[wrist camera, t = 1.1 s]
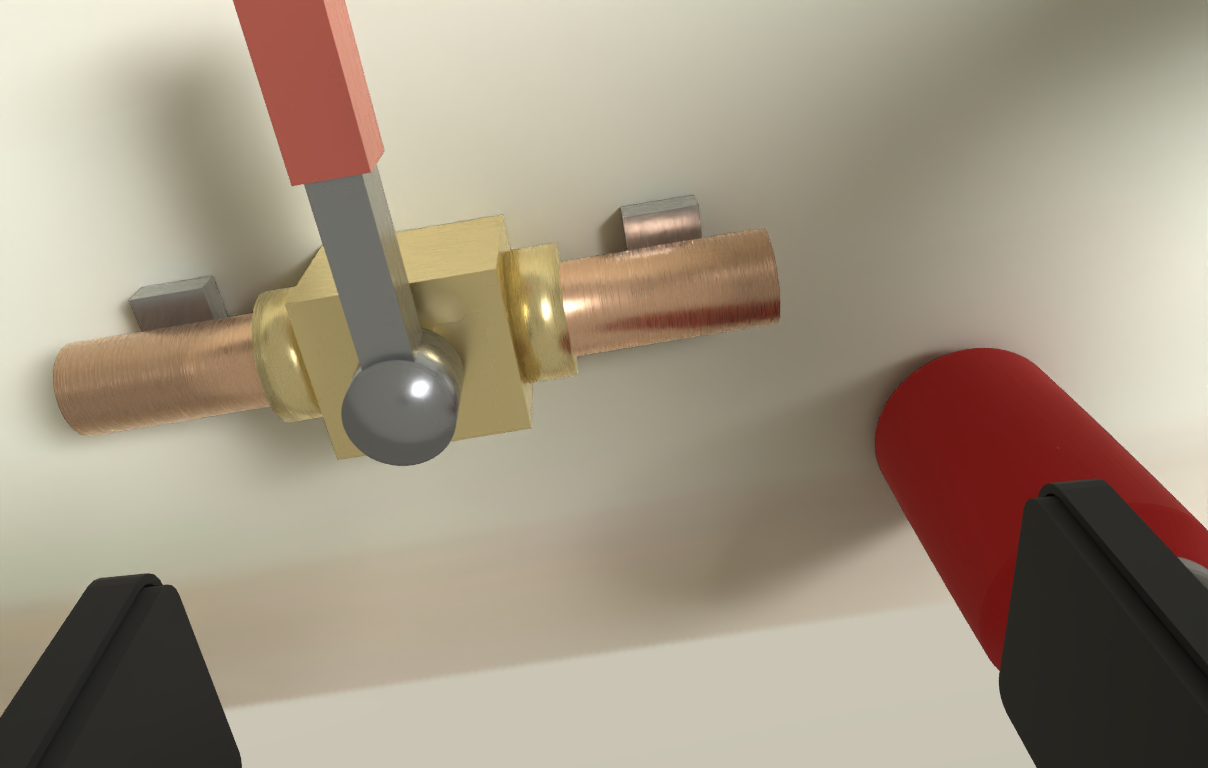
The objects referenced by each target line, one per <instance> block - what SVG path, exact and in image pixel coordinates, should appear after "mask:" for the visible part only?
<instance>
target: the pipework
mask: <svg viewBox="0 0 1208 768" xmlns="http://www.w3.org/2000/svg"><path fill="white" fill-rule="evenodd" d="M621 214H622V220H623V227H624V233H625V240H626V247H627V251H621V252H615V253H609V254H603V255H597V256H591V257H585V258H579V259H573V260H567V261H561V259H560V255H559V251H558V247H557V244H556V243H551V244H545V245H539V246H533V247H527V248H521V249H515V250H511V249H510V244H509V240H508V235H507V230H506V225H505V221H504V216H503V215H498V216H492V217H486V218H480V219H474V220H468V221H462V222H456V223H450V224H444V225H438V226H433V227H427V228H421V229H415V230H409V231H403V232H397V233H395V234H396V237H397V241H398V245H399V248H400V252H401V256H402V259H403V263H404V267H405V270H406V274H407V278H408V282H409V285H410V289H411V293H412V296H413V300H414V304H415V307H416V311H417V315H418V318H419V322H420V326H421V327H422V328H426V329H429V330H431V331H434V332H436V333H437V334H439V335H441V336H442V337H444V338H445V339H446V340H447V341H448V342H450V343H451V345H452V346H453V347H454V348H455V350H456V351H457V353H458V354H459V356H460V358H461V361H462V364H463V369H464V381H463V388H462V394H461V399H460V405H459V411H458V417H457V423H456V428H455V432H454V435H453V437H452V439H451V441H456V440H462V439H468V438H474V437H480V436H486V435H492V434H499V433H505V432H511V431H517V430H523V429H529V428H531V421H532V387H533V383H535V382H541V381H547V380H553V379H559V378H565V377H571V376H577V375H578V361H577V356H581V355H587V354H593V353H600V352H606V351H612V350H618V349H624V348H630V347H636V346H642V345H648V344H654V343H660V342H666V341H673V340H679V339H685V338H691V337H697V336H703V335H709V334H715V333H721V332H727V331H733V330H739V329H746V328H752V327H758V326H764V325H770V324H776V323H778V321H779V317H780V292H779V282H778V275H777V268H776V263H775V258H774V254H773V249H772V246H771V242H770V239H769V236H768V234H767V232H766V230H765V229H764V228H759V229H753V230H747V231H741V232H735V233H729V234H723V235H717V236H711V237H705V238H702V235H701V226H700V217H699V208H698V203H697V201H696V199H695V197H694V195H689V196H683V197H677V198H671V199H665V200H659V201H653V202H647V203H641V204H635V205H629V206H623V207H621ZM129 302H130V305H131V307H132V309H133V312H134V314H135V316H136V319H137V321H138V323H139V326H140V328H141V331H142V332H136V333H130V334H124V335H118V336H112V337H106V338H100V339H94V340H88V341H82V342H76V343H71V344H68V345H66V346H65V347H63V348H62V349H61V351H60V352H59V354H58V356H57V358H56V361H55V365H54V373H53V383H54V391H55V396H56V400H57V403H58V406H59V408H60V411H61V413H62V415H63V416H64V418H65V420H66V421H67V423H68V424H69V425H70V426H71V427H72V428H73V429H74V430H75V431H76V432H78V433H79V434H81V435H84V436H95V435H101V434H107V433H113V432H119V431H125V430H131V429H137V428H143V427H149V426H155V425H162V424H168V423H174V422H180V421H186V420H192V419H198V418H204V417H210V416H216V415H222V414H228V413H235V412H241V411H247V410H253V409H259V408H265V407H272V409H273V410H274V412H275V413H276V414H277V415H278V416H279V418H281V419H282V420H283V421H285V422H289V423H290V422H297V421H303V420H309V419H315V418H321V417H323V419H324V422H325V424H326V427H327V430H328V433H329V436H330V439H331V442H332V445H333V448H334V451H335V454H336V457H337V460H339V459H345V458H351V457H357V456H363V455H365V454H364V453H363V452H361V451H360V450H359V449H358V448H357V447H356V446H355V445H354V444H353V443H352V442H351V440H350V439H349V437H348V436H347V434H346V432H345V429H344V427H343V423H342V417H341V409H342V403H343V400H344V397H345V394H346V392H347V389H348V387H349V384H350V382H351V379H352V377H353V375H354V372H355V370H356V367H357V365H358V362H359V359H358V356H357V353H356V350H355V347H354V343H353V340H352V337H351V334H350V330H349V327H348V324H347V321H346V318H345V314H344V311H343V308H342V305H341V301H340V298H339V295H338V292H337V289H336V285H335V282H334V279H333V276H332V272H331V269H330V266H329V263H328V260H327V256H326V253H325V250H324V247H323V245H322V246H321V248H320V249H319V251H318V253H317V254H316V256H315V257H314V259H313V260H312V262H311V263H310V265H309V267H308V268H307V270H306V271H305V273H304V274H303V276H302V278H301V279H300V281H299V282H298V284H297V285H296V286H294V287H288V288H283V289H277V290H271V291H265V292H262V293H261V294H260V295H259V296H258V298H257V300H256V302H255V305H254V309H253V313H250V314H244V315H238V316H232V317H228V315H227V312H226V310H225V307H224V304H223V302H222V299H221V296H220V294H219V291H218V288H217V286H216V283H215V280H214V277H213V276H207V277H201V278H195V279H189V280H183V281H177V282H171V283H165V284H160V285H154V286H148V287H142V288H141V289H140V290H139V291H138V292H137V293H136V294H135V295H133V296H132V297H131V298H130V299H129Z"/></svg>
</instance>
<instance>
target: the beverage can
mask: <svg viewBox="0 0 1208 768" xmlns="http://www.w3.org/2000/svg"><path fill="white" fill-rule="evenodd" d="M875 452H876V458H877V462H878V465H879V467H880V470H881V472H882V474H883V475H884V477H885V479H886V481H887V483H888V484H889V486H890V488H891V490H892V492H893V494H894V495H895V497H896V499H897V501H898V503H899V504H900V506H901V508H902V510H903V512H904V514H905V515H906V517H907V519H908V521H909V522H910V524H911V526H912V528H913V529H914V531H915V533H916V535H917V536H918V538H919V540H920V542H921V543H922V545H923V547H924V549H925V550H926V552H927V554H928V556H929V557H930V559H931V561H932V563H933V564H934V566H935V568H936V570H937V571H938V573H939V575H940V576H941V578H942V580H943V582H944V583H945V585H946V587H947V589H948V590H949V592H950V594H951V595H952V597H953V599H954V600H955V602H956V604H957V606H958V607H959V609H960V611H961V612H962V614H963V616H964V617H965V619H966V621H967V622H968V624H969V626H970V627H971V629H972V631H973V632H974V634H975V636H976V637H977V639H978V641H979V642H980V644H981V646H982V647H983V649H984V651H985V653H986V654H987V656H988V658H989V659H990V661H991V662H992V663H993V664H994V666H996V667H997V669H998V670H999V671H1000V666H1001V659H1002V652H1003V646H1004V639H1005V632H1006V625H1007V618H1008V611H1009V604H1010V598H1011V591H1012V584H1013V577H1014V570H1015V563H1016V556H1017V550H1018V543H1019V536H1020V529H1021V522H1022V515H1023V509H1024V506H1025V503H1026V502H1027V500H1029V499H1031V498H1038V495H1039V491H1040V490H1041V488H1042V487H1043V485H1045V484H1048V483H1055V482H1065V481H1075V480H1085V479H1095V478H1097V479H1102V480H1104V481H1105V482H1107V483H1108V484H1109V485H1110V486H1111V487H1112V488H1113V489H1114V490H1115V491H1116V492H1117V493H1118V494H1119V495H1120V496H1121V497H1122V499H1123V500H1124V501H1125V502H1126V503H1127V504H1128V505H1129V506H1130V507H1131V508H1132V509H1133V510H1134V511H1135V512H1136V514H1137V515H1138V516H1139V517H1140V518H1141V519H1142V520H1143V521H1144V522H1145V523H1146V524H1147V525H1148V526H1149V527H1150V528H1151V530H1152V531H1153V532H1154V533H1155V534H1156V535H1157V536H1158V537H1159V538H1160V539H1161V540H1162V541H1163V542H1164V543H1165V545H1166V546H1167V547H1168V548H1169V549H1170V550H1171V551H1172V552H1173V553H1174V554H1175V555H1176V556H1177V557H1178V558H1179V559H1180V561H1181V562H1182V563H1183V564H1184V565H1185V566H1186V567H1187V568H1188V569H1189V570H1190V571H1191V572H1192V573H1193V574H1194V576H1195V577H1196V578H1197V579H1198V580H1199V581H1200V582H1201V583H1202V584H1203V585H1204V586H1205V587H1206V588H1207V589H1208V530H1207V529H1206V528H1205V527H1204V526H1203V525H1202V524H1201V523H1200V522H1199V521H1198V520H1197V519H1196V518H1195V517H1194V516H1193V515H1192V514H1191V513H1190V512H1189V511H1188V510H1187V509H1186V508H1185V507H1184V506H1183V505H1182V504H1181V503H1180V502H1179V501H1178V500H1177V499H1176V498H1175V497H1174V496H1173V495H1172V494H1171V493H1170V492H1169V491H1168V490H1167V489H1166V488H1165V487H1164V486H1163V485H1162V484H1161V483H1160V482H1159V481H1158V480H1157V479H1156V478H1155V477H1154V476H1153V475H1152V474H1150V473H1149V472H1148V471H1147V470H1146V469H1145V468H1144V467H1143V466H1142V465H1141V464H1140V463H1139V462H1138V461H1137V460H1136V459H1135V458H1134V457H1133V456H1132V455H1131V454H1130V453H1129V452H1128V451H1127V450H1126V449H1125V448H1124V447H1123V446H1121V445H1120V444H1119V443H1118V442H1117V441H1116V440H1115V439H1114V438H1113V437H1112V436H1111V435H1110V434H1109V433H1108V432H1107V431H1106V430H1105V429H1104V428H1103V427H1102V426H1101V425H1100V424H1099V423H1098V422H1096V421H1095V420H1094V419H1093V418H1092V417H1091V416H1090V415H1089V414H1088V413H1087V412H1086V411H1085V410H1084V409H1083V408H1082V407H1081V406H1080V405H1078V404H1077V403H1076V402H1075V401H1074V400H1073V399H1072V398H1071V397H1070V396H1069V395H1068V394H1067V393H1066V392H1065V391H1064V390H1062V389H1061V388H1060V387H1059V386H1058V385H1057V384H1056V383H1055V382H1054V381H1053V380H1052V379H1050V378H1049V377H1048V376H1047V375H1046V374H1045V373H1044V372H1043V371H1042V370H1041V369H1040V368H1039V367H1037V366H1036V365H1035V364H1034V363H1032V362H1031V361H1029V360H1028V359H1026V358H1024V357H1022V356H1020V355H1018V354H1015V353H1012V352H1009V351H1006V350H1001V349H993V348H974V349H966V350H962V351H957V352H954V353H950V354H947V355H945V356H942V357H940V358H937V359H935V360H933V361H931V362H929V363H928V364H926V365H924V366H923V367H921V368H920V369H918V370H917V371H915V372H914V373H913V374H911V375H910V376H909V377H908V378H907V379H906V380H905V381H904V382H903V383H902V384H901V385H900V386H899V387H898V388H897V389H896V390H895V391H894V393H893V394H892V396H891V397H890V398H889V400H888V402H887V403H886V405H885V407H884V409H883V411H882V413H881V415H880V418H879V421H878V424H877V428H876V434H875Z"/></svg>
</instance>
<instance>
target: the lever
mask: <svg viewBox="0 0 1208 768" xmlns="http://www.w3.org/2000/svg"><path fill="white" fill-rule="evenodd" d="M233 2H234V5H235V9H236V12H237V15H238V18H239V21H240V24H241V28H242V31H243V34H244V37H245V40H246V43H247V46H248V50H249V53H250V56H251V59H252V62H253V65H254V69H255V72H256V75H257V78H258V81H259V84H260V87H261V91H262V94H263V97H264V100H265V103H266V106H267V110H268V113H269V116H270V119H271V122H272V125H273V129H274V132H275V135H276V138H277V141H278V144H279V147H280V151H281V154H282V157H283V160H284V163H285V166H286V170H287V173H288V176H289V179H290V182H291V185H292V186H295V185H301V184H304V185H305V189H306V192H307V195H308V198H309V202H310V205H311V208H312V211H313V214H314V218H315V221H316V224H317V227H318V231H319V234H320V237H321V240H322V243H323V247H324V250H325V253H326V256H327V260H328V263H329V266H330V269H331V272H332V276H333V279H334V282H335V285H336V289H337V292H338V295H339V298H340V301H341V305H342V308H343V311H344V314H345V318H346V321H347V324H348V327H349V330H350V334H351V337H352V340H353V343H354V347H355V350H356V353H357V356H358V359H359V362H358V365H357V367H356V370H355V372H354V375H353V377H352V379H351V382H350V384H349V387H348V389H347V392H346V394H345V397H344V400H343V403H342V409H341V417H342V423H343V427H344V429H345V432H346V434H347V436H348V437H349V439H350V440H351V442H352V443H353V444H354V445H355V446H356V447H357V448H358V449H359V450H360V451H361V452H363V453H364V454H365V455H367V456H369V457H370V458H372V459H374V460H376V461H379V462H382V463H385V464H390V465H397V466H409V465H416V464H420V463H423V462H426V461H428V460H430V459H432V458H434V457H435V456H437V455H438V454H440V453H441V452H442V451H443V450H444V449H445V448H446V447H447V446H448V444H449V443H450V441H451V439H452V437H453V435H454V432H455V428H456V423H457V417H458V411H459V405H460V399H461V394H462V388H463V381H464V369H463V364H462V361H461V358H460V356H459V354H458V353H457V351H456V350H455V348H454V347H453V346H452V345H451V343H450V342H448V341H447V340H446V339H445V338H444V337H442V336H441V335H439V334H437V333H436V332H434V331H431V330H429V329H426V328H422V327H421V326H420V322H419V318H418V315H417V311H416V307H415V304H414V300H413V296H412V293H411V289H410V285H409V282H408V278H407V274H406V270H405V267H404V263H403V259H402V256H401V252H400V248H399V245H398V241H397V237H396V234H395V230H394V226H393V222H392V219H391V215H390V211H389V208H388V204H387V200H386V197H385V193H384V189H383V186H382V182H381V178H380V175H379V171H378V167H377V162H378V161H379V159H380V157H381V156H382V154H383V153H384V147H383V143H382V139H381V136H380V132H379V128H378V124H377V121H376V117H375V113H374V109H373V106H372V102H371V98H370V94H369V90H368V87H367V83H366V79H365V75H364V72H363V68H362V64H361V60H360V57H359V53H358V49H357V45H356V41H355V38H354V34H353V30H352V26H351V23H350V19H349V15H348V11H347V8H346V4H345V0H233Z"/></svg>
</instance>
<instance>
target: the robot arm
mask: <svg viewBox="0 0 1208 768" xmlns="http://www.w3.org/2000/svg"><path fill="white" fill-rule="evenodd" d="M999 690H1000V695H1001V699H1002V703H1003V705H1004V708H1005V710H1006V713H1007V715H1008V716H1009V718H1010V720H1011V722H1012V724H1013V725H1014V727H1015V729H1016V731H1017V733H1018V735H1019V736H1020V738H1021V740H1022V742H1023V744H1024V745H1025V747H1026V749H1027V751H1028V753H1029V755H1030V756H1031V758H1032V760H1033V762H1034V764H1035V765H1036V767H1037V768H1208V589H1207V588H1206V587H1205V586H1204V585H1203V584H1202V583H1201V582H1200V581H1199V580H1198V579H1197V578H1196V577H1195V576H1194V574H1193V573H1192V572H1191V571H1190V570H1189V569H1188V568H1187V567H1186V566H1185V565H1184V564H1183V563H1182V562H1181V561H1180V559H1179V558H1178V557H1177V556H1176V555H1175V554H1174V553H1173V552H1172V551H1171V550H1170V549H1169V548H1168V547H1167V546H1166V545H1165V543H1164V542H1163V541H1162V540H1161V539H1160V538H1159V537H1158V536H1157V535H1156V534H1155V533H1154V532H1153V531H1152V530H1151V528H1150V527H1149V526H1148V525H1147V524H1146V523H1145V522H1144V521H1143V520H1142V519H1141V518H1140V517H1139V516H1138V515H1137V514H1136V512H1135V511H1134V510H1133V509H1132V508H1131V507H1130V506H1129V505H1128V504H1127V503H1126V502H1125V501H1124V500H1123V499H1122V497H1121V496H1120V495H1119V494H1118V493H1117V492H1116V491H1115V490H1114V489H1113V488H1112V487H1111V486H1110V485H1109V484H1108V483H1107V482H1105V481H1104V480H1102V479H1097V478H1095V479H1085V480H1075V481H1065V482H1055V483H1048V484H1045V485H1043V487H1042V488H1041V490H1040V491H1039V495H1038V498H1031V499H1029V500H1027V502H1026V503H1025V506H1024V509H1023V515H1022V522H1021V529H1020V536H1019V543H1018V550H1017V556H1016V563H1015V570H1014V577H1013V584H1012V591H1011V598H1010V604H1009V611H1008V618H1007V625H1006V632H1005V639H1004V646H1003V652H1002V659H1001V666H1000V673H999ZM0 768H242V764H241V757H240V753H239V750H238V748H237V745H236V742H235V740H234V737H233V735H232V732H231V729H230V727H229V724H228V722H227V719H226V716H225V713H224V711H223V708H222V706H221V703H220V700H219V698H218V695H217V693H216V690H215V687H214V685H213V682H212V679H211V677H210V674H209V672H208V669H207V666H206V664H205V661H204V659H203V656H202V653H201V651H200V648H199V645H198V643H197V640H196V638H195V635H194V632H193V630H192V627H191V625H190V622H189V619H188V617H187V614H186V611H185V609H184V606H183V604H182V601H181V598H180V596H179V594H178V592H177V590H176V589H175V588H174V587H173V586H172V585H162V583H161V581H160V579H159V578H158V577H156V576H155V575H154V574H149V573H147V574H137V575H127V576H117V577H107V578H99V579H97V580H94V581H93V582H92V583H91V584H90V585H89V586H88V587H87V589H86V590H85V592H84V593H83V595H82V596H81V598H80V599H79V601H78V602H77V604H76V605H75V607H74V608H73V610H72V611H71V613H70V614H69V616H68V617H67V619H66V620H65V622H64V623H63V625H62V626H61V628H60V629H59V631H58V632H57V634H56V635H55V637H54V638H53V640H52V641H51V643H50V644H49V646H48V647H47V649H46V650H45V652H44V653H43V655H42V656H41V658H40V659H39V661H38V662H37V664H36V665H35V666H34V668H33V669H32V671H31V672H30V674H29V675H28V677H27V678H26V680H25V681H24V683H23V684H22V686H21V687H20V689H19V690H18V692H17V693H16V695H15V696H14V698H13V699H12V701H11V702H10V704H9V705H8V707H7V708H6V710H5V711H4V713H3V714H2V716H1V717H0Z"/></svg>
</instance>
